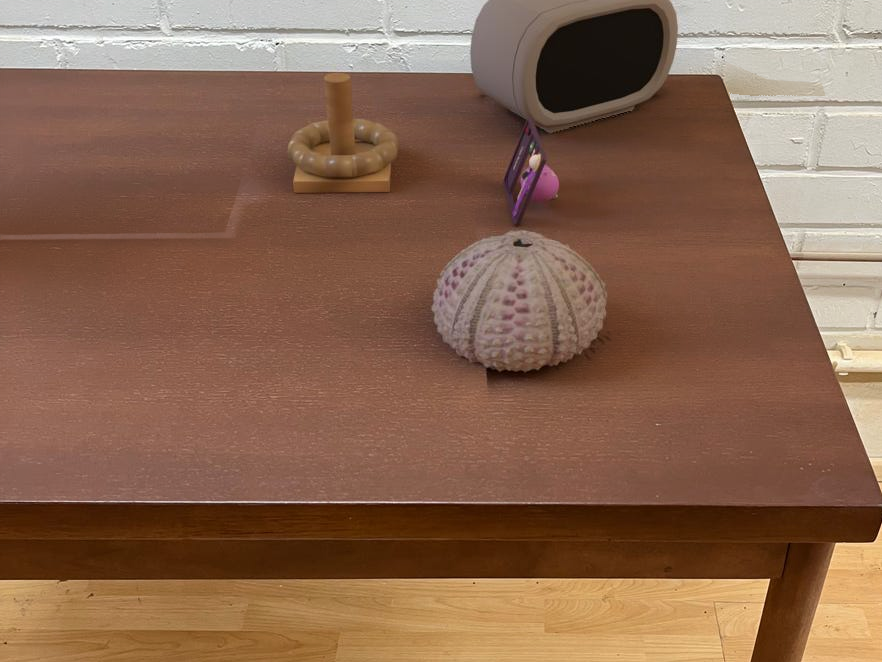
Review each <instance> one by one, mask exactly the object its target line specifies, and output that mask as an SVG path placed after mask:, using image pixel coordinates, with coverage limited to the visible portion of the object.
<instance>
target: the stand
mask: <svg viewBox="0 0 882 662" xmlns="http://www.w3.org/2000/svg"><path fill="white" fill-rule="evenodd" d="M323 82H324V84H323V85H324V92H325V94H324V95H325V105H326V115H327V120H328V127H329V138H330V141H329V142H324V143H320V144H317V145H316V146H314V147H312V148H311V149H310V150H312V151H314V152H318V153H322V154H326V155H354V154H358V153H362V152H366V151H370V150H372V149H373V148H375V147H376V145H374V144H373V143H369V142H365V141H361V140H355V135H354V121H353V119H354V110H353V109H354V108H353V97H352V96H353V95H352V84H351V83H352V82H351V76H350V75H349V74H348V73H345V72H330V73H328V74H326V75H325V76H324V77H323ZM295 166H296V167H295V170H294V171H295V172H294V176H293V181H292V183H293V191H294V193H295V194H315V193H316V194H318V193H319V194H321V193H323V194H324V193H327V194H328V193H329V194H331V193H332V194H333V193H334V194H335V193H390V192H391V176H392V162H391V163H390V164H388V165H387V166H386V167H384V168H383V169H381V170H380V171H378V172H374V173H370V174H366V175H362V176H358V177H343V178H328V177H323V176H319V175H315V174H312V173H308V172H304V171H302V170H301V169H300V168H299V167H298V166H297V165H295Z"/></svg>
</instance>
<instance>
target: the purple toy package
mask: <svg viewBox="0 0 882 662" xmlns="http://www.w3.org/2000/svg"><path fill="white" fill-rule="evenodd" d="M521 131H522V132H521V134H520V137H519V139H518V141H517V144H516V146H515V149H514V152H513V154H512V157H511V159H510V161H509V164H508V167H507V169H506V172H505V174H504V177H503V179H502V185H503V188H504V191H505V195H506V196H505V197H506V199H507V203H508V207H509V210H510V213H511V217H512V221H513V224H514V226H517V227H519V226H520V225H521V222H522V220H523V218H524V215H525V213H526V210H527V208H528V206H529V203H530V201H531V200H533V201H535V202H538V203H544V202H549V201H551V200H552V199H554V200H556V198H558V197H559V196H558V192H559V188H560V182H559V178H558V176H557V174H556V173H555V171H553V170H552V168H550V166H548V165H547V164H546V162H547V159H548V158H547V154H546V152H545V150H544V146H543V144H542V140H541V139H540V135H539V132H538V129H537V126H536V125H535V124H534V121H533V118H530V117H528V118H527V120H526V121H525V123H524V126H523V129H522V130H521ZM528 156H530V158H529V160H528V164H529V166H528V167H526V169H525V170H524V171H523V168H524V166H525V164H526V161H527V158H528ZM522 171H523V172H522ZM520 176H521V177H520ZM519 179H520V186H521V188H520V190H519V193H518V195H517V200H516V202H515V200H514V198H513V193H514V191H515V188H516V186H517V183H518V180H519ZM525 194H526V195H525ZM524 196H525V197H524ZM523 198H524V199H523ZM522 200H523V202H522ZM521 203H522V205H521V207H520V204H521Z"/></svg>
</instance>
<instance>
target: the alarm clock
mask: <svg viewBox="0 0 882 662" xmlns="http://www.w3.org/2000/svg"><path fill="white" fill-rule="evenodd" d="M678 32H679V25H678V15H677V11H676V9H675V7H674V5H673V3H672V1H671V0H487V1H486V2H485V3H484V4H483V6H482V8H481V9H480V11H479V13H478V15H477V17H476V19H475V22H474V25H473V30H472V33H471V38H470V51H469V54H470V67H471V68H470V69H471V73H472V76H473V80H474V82H475V85H476V86H477V88H478V89H479V91H480V92H481V93H482V94H483V95H485V96H487V97H488V98H490V99H491V100H494V101H495V102H497V103H499V104H500V105H502V106H504V107H506V108H507V109H509V111H511V112H513V113H514V114H516V115H517V116H519V117H521V118H523V119H524V120H526V121H527V118H528V117H530V118H533V121H534V124H535V126H536V127H538V128H540V129H541V130H543V129H544V130H543V131H545V132H547V133H549V134H553V132H554V133H556V131H557V132H560V130H561V131H565V130H568V129H570V128H569V127H572V128H574V127H573V126H576V127H578V126H577V125H579V126H581V125H580V124H583V125H585V124H584V123H587V122H590V123H592V122H591V121H594V122H596V121H595V120H597V119H601V118H603V117H607V116H611V115H614V114H618V113H622V112H626V111H629V110H633V109H634V110H635V106H636V105H639V104H642V103H643V102H646V101H647V100H650V99H651V98H652V96H654V95H655V94H656V92H658V91H659V90H660V89H661V88H662V87H663V84H664V82H665V81H666V79H667V78H668V76H669V74H670V71H671V68H672V65H673V63H674V60H675V56H676V52H677V51H676V50H677V45H678V36H679V35H678ZM601 120H602V119H601ZM587 124H588V123H587ZM564 129H565V130H564Z"/></svg>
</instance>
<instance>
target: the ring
mask: <svg viewBox="0 0 882 662" xmlns="http://www.w3.org/2000/svg"><path fill="white" fill-rule="evenodd" d="M353 121H354V135H355V141H365V142H369V143H373V144H374V145H376V147H375V148H373V149H372V150H370V151H366V152H362V153H358V154H354V155H326V154H322V153H318V152H314V151H312V150H310V149H311V148H312V147H314V146H316V145H317V144H320V143H324V142H329V141H330V138H329V127H328V119H325V120H321V121H316V122H311V123H309V124H307V125H305V126H304V127H302V128H301V129H299V130H296V131H295V132H294V133H293V134H291V136H290V138H289V141H288V145H287V150H286V154H287V157H288V159H289V160H290V161H291V162H292V163H293V164H294V165H295V166H298V167H299V168H300V169H301V170H302V171H304V172H308V173H312V174H315V175H319V176H323V177H328V178H343V177H358V176H362V175H366V174H370V173H374V172H378V171H380V170H381V169H383V168H384V167H386V166H387V165H388V164H390V163H391V164H392V163H393V162H394V161H395V160H396V159H397V158H398V154H399V153H398V152H399V138H398V136H397V135H396V134H395V133H394V132H393V131H392V130H390V129H389V128H387V127H386V126H385V125H383V124H382V123H379V122H374V121H371V120H367V119H362V118H353Z"/></svg>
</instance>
